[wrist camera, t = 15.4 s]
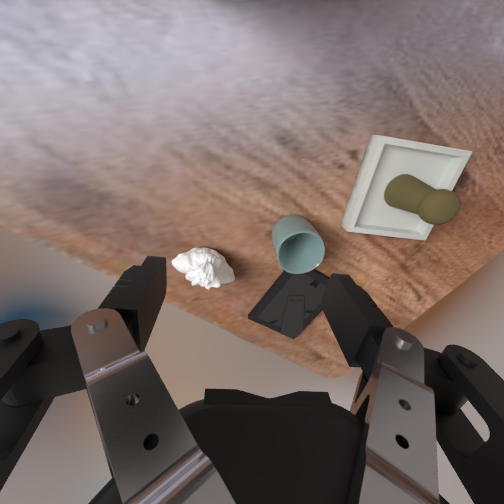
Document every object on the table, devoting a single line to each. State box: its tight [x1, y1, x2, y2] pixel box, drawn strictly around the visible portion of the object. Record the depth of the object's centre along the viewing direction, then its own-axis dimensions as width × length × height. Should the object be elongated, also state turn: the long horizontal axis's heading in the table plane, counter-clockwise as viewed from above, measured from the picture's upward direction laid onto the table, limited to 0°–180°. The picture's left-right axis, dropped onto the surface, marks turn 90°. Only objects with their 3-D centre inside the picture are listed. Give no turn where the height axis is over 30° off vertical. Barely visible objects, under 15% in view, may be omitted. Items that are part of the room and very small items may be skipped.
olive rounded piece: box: [384, 174, 461, 225], centre depth 39 cm, size 6×6×11 cm
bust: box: [172, 248, 235, 290], centre depth 45 cm, size 12×8×11 cm
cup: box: [272, 215, 325, 274], centre depth 43 cm, size 8×8×10 cm
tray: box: [341, 135, 473, 241], centre depth 43 cm, size 16×16×3 cm
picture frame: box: [248, 269, 329, 339], centre depth 55 cm, size 13×2×18 cm
